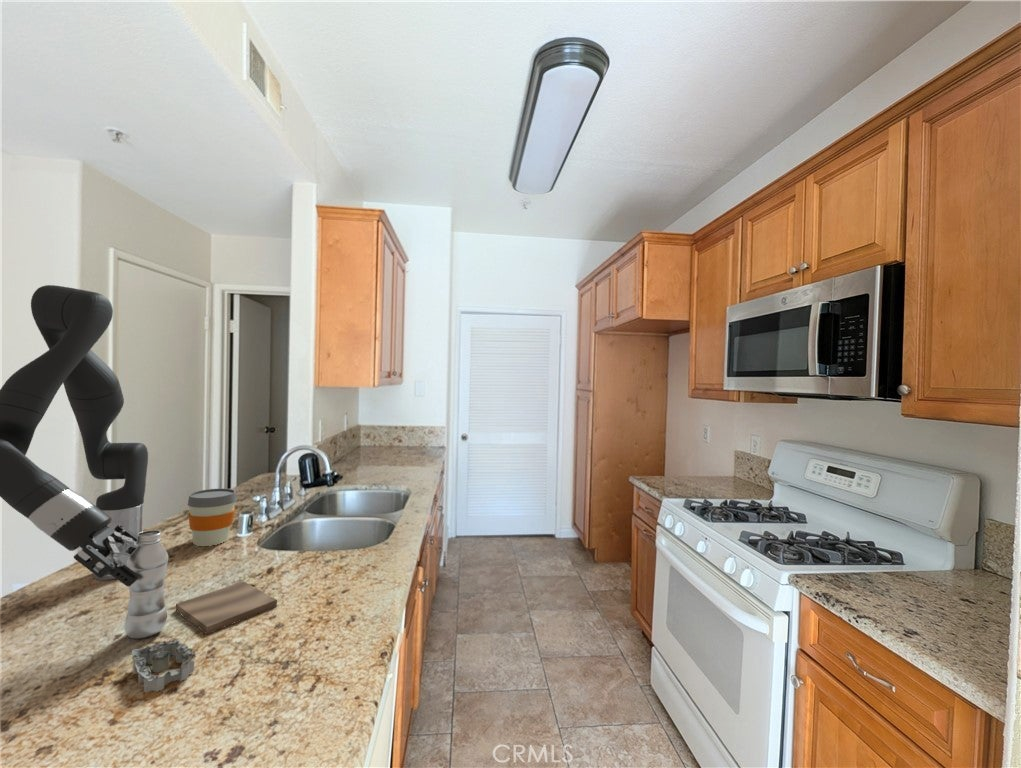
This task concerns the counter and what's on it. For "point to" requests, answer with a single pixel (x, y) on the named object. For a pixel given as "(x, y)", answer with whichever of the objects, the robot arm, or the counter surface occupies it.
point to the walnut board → (225, 606)
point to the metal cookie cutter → (162, 664)
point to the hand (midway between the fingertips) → (143, 572)
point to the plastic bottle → (147, 587)
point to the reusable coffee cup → (211, 515)
